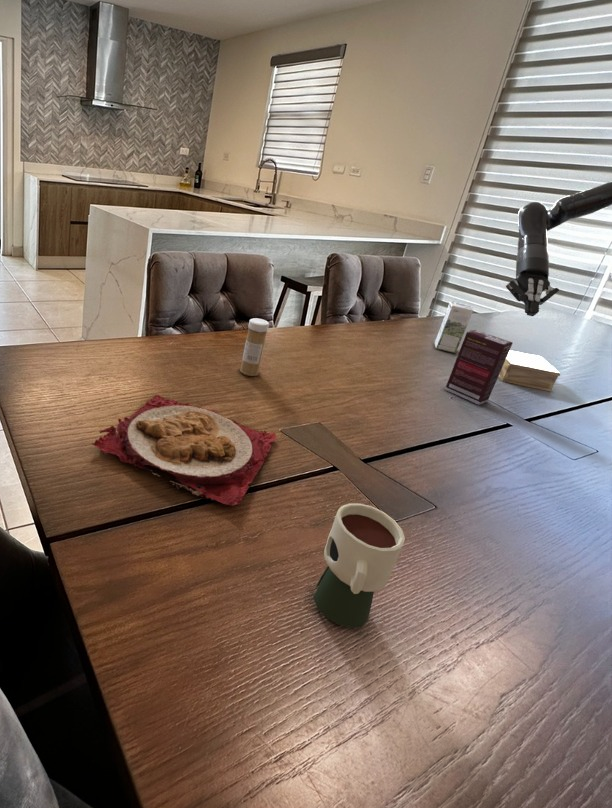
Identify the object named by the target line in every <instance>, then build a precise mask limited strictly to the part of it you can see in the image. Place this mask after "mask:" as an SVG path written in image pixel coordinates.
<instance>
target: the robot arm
mask: <svg viewBox="0 0 612 808" xmlns="http://www.w3.org/2000/svg"><path fill="white" fill-rule="evenodd" d="M610 206H612V180H610V181H609V182H606V183H603V184H600V185H597V186H595V187H592V188H588V189H585V190H582V191H580V192H576V193H573V194H570V195H567V196H563V197H561V198H559V199H557V200H556V201H555V203H554V205H553V206H552V207H551V208H549V209H548V207H547V206H546V205H545V204H544V203H542V202H539V201H532V202H528V203H526V204H525V205H523V206H522V207H521V208H520V209H519V211H518V214H517V216H518V217H517V220H518V221H517V222H518V240H517V253H516V254H517V255H516V259H515V260H516V261H515V279H514V280H510V281H509V282H508V283H507V284H506V285H505V288H506V290H508V292H510V294H511V295H512V296H513V297H514V299H515V300H516V301H517V302H522V303H523V305H524V313H525V314H526V316H527V317H528V316H529V317H534V316H536V315H537V314H538V313H539V312H540V306H542V305H544V304H545V303H546V302H547V301H548V300H550V299H551V298H552V297H554V295H556V294H557V293H559V291H560V289H559V288H558V287H552V286H551V282H550V281H549V276H550V255H549V250H548V249H549V248H548V247H549V245H548V242H549V241H548V234H547V233H548V231H551V230H552V229H554V228H556V227H558V226H561V225H563V224H564V223H566V222H568V221H571V220H575V219H578V218H582V217H585V216H588V215H591V214H594V213H597V212H599V211H602V210H604V209H606V208H608V207H610ZM545 290H546V291H545ZM543 292H545V295H544V296H543V297H541V296H542V294H543Z"/></svg>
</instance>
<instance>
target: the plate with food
mask: <svg viewBox="0 0 612 808" xmlns="http://www.w3.org/2000/svg"><path fill="white" fill-rule="evenodd" d="M123 420H124V421H123ZM123 420H122V418H121V417H120V418H118V419H117V421H118V424H117V427H115V426H114V425H111V426H110V427H107V428H104V429H102V430H100V431H99V433H100V434H103V433H106V434H105V435H104V436H99V438H98V439H95V441H94V443H93V442H91V444H92V445H93V446H94V447H95V448H97V449H98V450H101V451H102V452H103V454H105V455H106V454H109V453H110V454H112V455H115V456H118V457H119V460H120V462H121V463H122V462H123V463H124V464H131V465H133V466H134V467H138V468H139V469H142V470H146V471H148V472H151V473H152V475H153V476H157V477H158V478H159V477H161V475H160V474H158V473H155V470H153V469H150V468H149V467H147V466H151V467H154V468H158V469H159V470H162V471H166V472H167V473H169V474H171V475H173V476H174V477H175V479H174V480H175V481H177V482H175V481H173V480H169V482H170V483H172V486H175V485H176V488H177V489H178V490H179V489H180V488H184V489H185V490H187V491H189V493H191V494H192V495H195V496H196V497H201V498H203V497H204V498H205V499H206V500H209V499H210V500H211V501H212V502H213V501H216V502H217V503H218V502H219V503H221V504H223V505H226V506H230V507H233V506H236V505H238V506H239V505H241V502H242V500H243V499H244V496H245V495H246V493H247V491H248V490H249V488H250V487H249V484H252V482H253V481H254V479H256V478H255V477H256V475H257V474H259V471H260V470H261V468H262V466H263V464H264V463H265V460H266V459H267V456H268V454H269V452H270V450H271V448H272V445H273V444H270V443H272V442H274V441H275V440H276V438H277V434H276V433H275V432H271V433H270V432H269V433H268V432H267V431H266V430H260V431H257V430H255V429H252V428H249V427H246V426H244V425H241V424H240V423H239V422H237V421H236V420H234V419H231V418H228V417H224V416H223V415H221V414H220V413H219V412H217V411H215V410H214V409H206V408H203V407H201V406H193V405H191V404H189V403H188V402H186V403H181V402H178V401H177V400H176V401H175V399H169V398H164V397H162V396H160V395H158V394H156V395H155V396H153V397H152V398H151V399H150V400H148V401H146V403H145V405H143V406H142V407H141V408H140V409H138V410H136V411H134V413H133V414H132V415H131V416H129V417H127V416H125V417H124V418H123ZM117 432H118V433H117Z"/></svg>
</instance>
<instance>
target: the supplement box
mask: <svg viewBox="0 0 612 808" xmlns="http://www.w3.org/2000/svg"><path fill="white" fill-rule="evenodd" d="M512 345H513V341H511V340H507V339H505V338H500V337H499V336H494V335H491V334H489V333H486V332H483V331H480V330H477V329H473V330H469V331H466V333H465V336H464V338H463V341H462V343H461V347H460V349H459V351H458V354H457V357H456V359H455V361H454V365H453V367H452V370H451V372H450V375H449V377H448V379H447V382H446V385H445V388H444V390H445V391H447V392H448V393H451V394H453V395H456V396H457V397H460V398H463V399H465V400H467V401H469V402H471V403H473V404H476V405H478V406H481V405H483V404H485V403H487V402H488V401H489V400H490V397H491V395H492V392H493V390H494V387H495V385H496V383H497V380H498V379H499V377H498V376H499V374H500V371H501V369H502V367H503V364H504V362H505V360H506V358H507V355H508V353H509V351H510V350H511V348H512Z"/></svg>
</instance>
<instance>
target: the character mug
mask: <svg viewBox="0 0 612 808" xmlns="http://www.w3.org/2000/svg"><path fill="white" fill-rule="evenodd" d="M326 540H327V541H326V544H325V546H324V549H323V558H324V561H325V563H326V565H327V566H326V568H325V570H324V571H323V573H322V574H321V576H320V578H319V579H318V582H317V584H316V586H315V588H314V590H315V593H314V594H313V600H314V603H315V607H316V608H317V610H318V611H319V612H320V613H321V614H322V615H323V617H324V618H325V619H326V620H328V621H331V622H333V623H335V624H337V625H340V626H342V627H345V628H350V629H355V628H362V627H363V626H364V625H365V624H366V623H367V622H368V621H369V618H370V617H369V616H370V613H371V609H372V605H373V599H374V594H375V593H376V592H379V591H381V590H382V589H385V588H386V586H387V585H388V583H389V580H390V578H391V576H392V573H393V571H394V568H395V566H396V565H397V561H398V559H399V557H400V554H401V551H402V549H403V546H404V543H405V541H406V538H405V534H404V531H403V529H402V528H401V527H400V525H399V524H398V523H397V522H396V520H395V519H394V518H392V517H391V516H389V515H388V514H387V513H385V512H384V511H382V510H381V509H378V508H376V507H374V506H372V505H367V504H363V503H354V502H353V503H350V502H349V503H346V504H344V505H341V506H340V507H339V508H338V509H337V511H336V514H335V517H334V519H333V523H332V526H331V529H330V532H329V534H328V537H327V539H326Z"/></svg>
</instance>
